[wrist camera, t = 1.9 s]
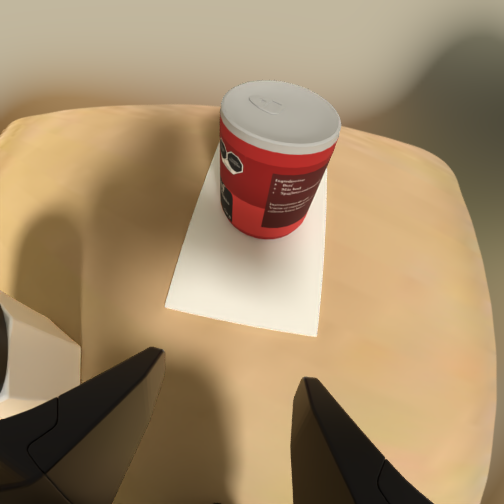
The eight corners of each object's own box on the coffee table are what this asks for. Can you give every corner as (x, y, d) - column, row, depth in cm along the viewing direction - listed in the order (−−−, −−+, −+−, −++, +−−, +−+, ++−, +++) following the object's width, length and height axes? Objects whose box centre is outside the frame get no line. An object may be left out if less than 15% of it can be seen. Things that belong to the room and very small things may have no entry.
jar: (1, 371, 17) (-92, 340, 6) (36, 303, 20) (-51, 241, 10) (63, 436, 15) (-39, 447, 5) (102, 361, 19) (3, 326, 8)
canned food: (237, 165, 28) (244, 70, 19) (312, 190, 28) (347, 99, 18) (206, 224, 25) (198, 124, 15) (294, 254, 24) (335, 164, 14)
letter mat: (315, 336, 22) (316, 336, 21) (165, 307, 22) (164, 306, 21) (326, 150, 31) (327, 148, 31) (224, 131, 31) (224, 128, 31)
